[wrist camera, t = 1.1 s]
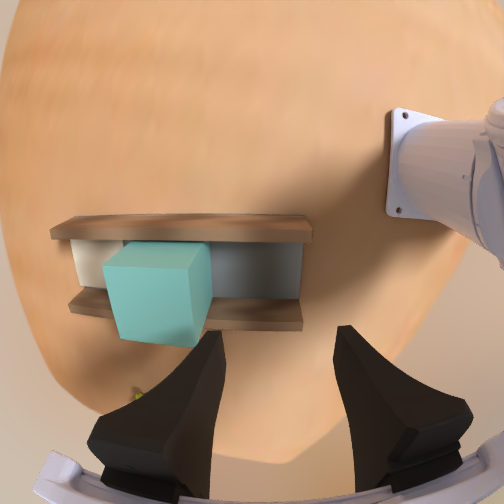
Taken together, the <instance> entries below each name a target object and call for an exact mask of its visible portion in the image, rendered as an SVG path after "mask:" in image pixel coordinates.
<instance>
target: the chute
mask: <svg viewBox="0 0 504 504" xmlns="http://www.w3.org/2000/svg"><path fill="white" fill-rule="evenodd" d="M312 233H313V230H312V228H311V226H310V224H309V223H308V221H307V219H306V217H305V216H301V215H267V214H134V215H102V216H78V217H73V218H71V219H69V220H67V221H65V222H63V223H61V224H59V225H57V226H55V227H53V228H51V229H50V234H51V239H60V240H70V242H71V247H72V252H73V257H74V262H75V266H76V270H77V275H78V279H79V283H80V286H85V288H84V289H83V290H82V291H81V292H80V293H79V294H78V295H77V296H76V297H75V298H74V299H73V300H72V301H71V302H70V303H69V304H68V306H69V309H70V312H71V313H76V314H82V315H89V316H95V317H102V318H109V319H115V318H114V314H113V311H112V307H111V303H110V299H109V295H108V291H107V286H106V282H105V277H104V273H103V268H102V265H104V264H105V263H106V262H107V261H108V260H109V259H111V258H112V257H113V256H114V255H115V254H116V253H118V252H119V251H120V250H121V249H122V248H124V247H125V246H126V245H127V244H129V243H130V242H131V241H132V240H176V241H210V254H211V274H212V291H213V298H212V301H211V304H210V307H209V310H208V313H207V316H206V320H205V323H204V326H203V328H207V329H225V330H248V331H302V328H303V318H302V313H301V308H300V303H299V292H300V282H301V271H302V259H303V247H304V243H312Z"/></svg>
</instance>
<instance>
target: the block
mask: <svg viewBox="0 0 504 504" xmlns="http://www.w3.org/2000/svg"><path fill="white" fill-rule="evenodd" d="M102 268H103V273H104V277H105V282H106V286H107V291H108V295H109V299H110V303H111V307H112V311H113V314H114V318H115V322H116V325H117V329H118V332H119V335H120V339H125V340H131V341H138V342H146V343H153V344H162V345H171V346H180V347H191V348H194V347H195V346H196V345H197V344H198V342H199V339H200V336H201V332H202V329H203V326H204V323H205V320H206V316H207V313H208V310H209V307H210V304H211V301H212V298H213V291H212V274H211V254H210V241H176V240H132V241H131V242H130V243H129V244H127V245H126V246H125V247H124V248H122V249H121V250H120V251H119V252H118V253H116V254H115V255H114V256H113V257H112V258H111V259H109V260H108V261H107V262H106V263H105V264H104V265H102Z"/></svg>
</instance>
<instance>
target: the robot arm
mask: <svg viewBox="0 0 504 504" xmlns="http://www.w3.org/2000/svg"><path fill="white" fill-rule="evenodd" d="M403 113H405V115H406V119H404V118H403V116H402V114H403ZM398 207H399V208H400V210H399V212H398V213H396V209H397V208H398ZM385 209H386V213H387V214H388V215H389V216H391V217H402V218H414V219H425V220H436V221H438V222H440V223H442V224H444V225H446V226H447V227H449V228H451V229H453V230H454V231H456V232H458V233H460V234H461V235H463V236H465V237H466V238H468V239H470V240H471V241H473V242H475V243H476V244H478V245H479V246H481V247H483V248H484V249H486V250H487V251H489V252H490V253H492V254H493V255H495V256H496V257H497V258H498V260H499V263H500V267H501V268H502V269H503V270H504V97H503V98H501V99H499V100H497V101H496V102H494V103H493V104H492V105H491V107H490V109H489V112H488V115H487V116H486V117H485V119H484V120H453V121H447V120H444V119H441V118H437V117H434V116H430V115H427V114H423V113H419V112H415V111H411V110H407V109H402V108H394V109H393V110H392V113H391V149H390V166H389V179H388V190H387V200H386V208H385ZM333 364H334V370H335V376H336V380H337V384H338V387H339V390H340V394H341V397H342V400H343V404H344V407H345V410H346V414H347V418H348V422H349V427H350V433H351V441H352V449H353V458H354V471H355V493H354V494H349V495H343V496H337V497H330V498H323V499H314V500H304V501H290V502H231V501H219V500H209V492H210V490H209V489H210V471H211V457H212V446H213V436H214V428H215V422H216V418H217V413H218V409H219V405H220V400H221V396H222V392H223V387H224V382H225V372H226V359H225V353H224V346H223V339H222V332H221V331H207V332H206V333H205V334H204V336H203V337H202V338H201V340H200V341H199V342H198V344H197V345H196V346H195V347H194V349H193V350H192V351H191V352H190V353H189V355H188V356H187V357H186V358H185V359H184V360H183V361H182V363H181V364H180V365H179V366H178V367H177V368H176V369H175V370H174V371H173V372H172V373H171V374H170V375H169V376H168V377H166V378H165V379H164V380H163V381H162V382H161V383H159V384H158V385H157V386H156V387H154V388H153V389H152V390H150V391H149V392H147V393H146V394H144V395H143V396H141V397H140V398H138V399H136V400H135V401H133V402H131V403H129V404H128V405H126V406H124V407H122V408H120V409H117V410H115V411H113V412H110V413H108V414H105V415H103V416H100V417H99V419H98V420H97V422H96V424H95V426H94V428H93V430H92V432H91V435H90V437H89V439H88V441H87V445H88V447H89V449H90V450H91V452H92V453H93V454H94V455H95V456H96V457H97V458H98V459H99V460H100V461H101V462H102V463H103V464H104V465H105V468H104V471H103V473H102V476H101V475H99V474H96V473H93V472H90V471H88V470H85V469H83V468H82V466H81V465H80V464H79V463H77V462H76V461H75V460H73V459H71V458H69V457H67V456H65V455H62V454H60V453H58V452H56V451H54V450H51V452H50V454H49V456H48V458H47V460H46V462H45V464H44V466H43V468H42V470H41V472H40V474H39V476H38V478H37V480H36V482H35V485H34V487H33V489H32V490H33V492H35V493H36V494H38V495H39V496H41V497H42V498H43V499H45V500H46V501H48V502H49V503H51V504H476V503H478V502H480V501H481V500H483V499H485V498H486V497H488V496H490V495H491V494H493V493H494V492H495V491H497V490H498V489H499V488H501V487H502V486H503V485H504V431H502V432H501V433H499V434H497V435H495V436H494V437H492V438H490V439H488V440H487V441H486V442H484V443H483V444H482V445H481V446H480V447H479V448H478V450H477V451H476V452H474V453H472V454H470V455H468V456H466V457H464V458H461V456H460V453H459V451H458V450H459V449H460V447H461V446H460V443H459V441H458V440H459V439H460V438H461V437H462V435H463V434H464V433H465V432H466V431H467V429H468V428H469V426H470V425H471V423H472V421H473V418H474V417H473V414H472V412H471V410H470V408H469V406H468V405H467V403H466V402H465V400H464V399H461V398H458V397H454V396H451V395H448V394H445V393H443V392H440V391H438V390H435V389H433V388H431V387H429V386H427V385H425V384H423V383H421V382H419V381H417V380H415V379H414V378H412V377H410V376H409V375H407V374H406V373H404V372H403V371H401V370H400V369H398V368H397V367H396V366H394V365H393V364H392V363H390V362H389V361H388V360H387V359H386V358H384V357H383V356H382V355H381V354H380V353H379V352H378V351H376V350H375V349H374V348H373V347H372V346H371V345H370V344H369V343H368V342H367V341H366V340H365V339H364V338H363V337H362V336H361V335H360V334H359V333H358V332H357V331H356V330H355V329H354V328H353V327H352V326H351V325H346V326H338V328H337V335H336V342H335V349H334V355H333Z"/></svg>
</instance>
